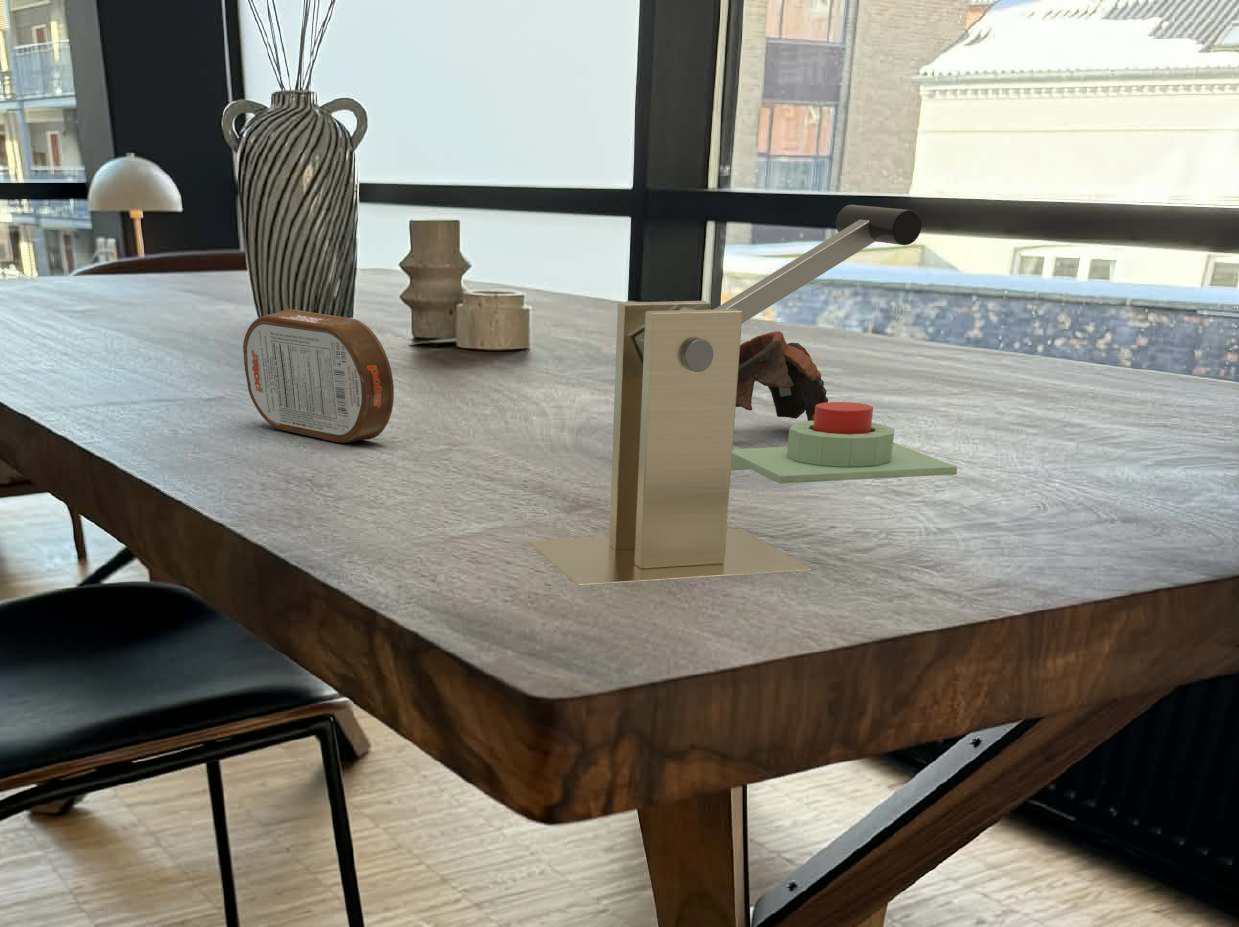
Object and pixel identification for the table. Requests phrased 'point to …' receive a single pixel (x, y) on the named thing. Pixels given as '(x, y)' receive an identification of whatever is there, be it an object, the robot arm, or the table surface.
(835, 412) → the button
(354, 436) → the tin
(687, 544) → the bracket
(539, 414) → the table surface
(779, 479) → the housing
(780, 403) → the crumpled brown leather
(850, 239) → the lever
